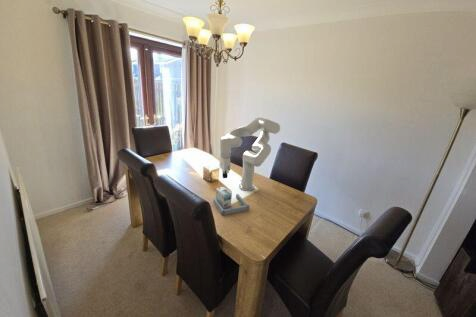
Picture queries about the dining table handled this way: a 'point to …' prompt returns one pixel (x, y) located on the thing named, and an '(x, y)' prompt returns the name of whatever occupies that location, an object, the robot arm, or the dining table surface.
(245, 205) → the dock
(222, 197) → the light bulb box
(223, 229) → the dining table surface
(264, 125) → the robot arm
